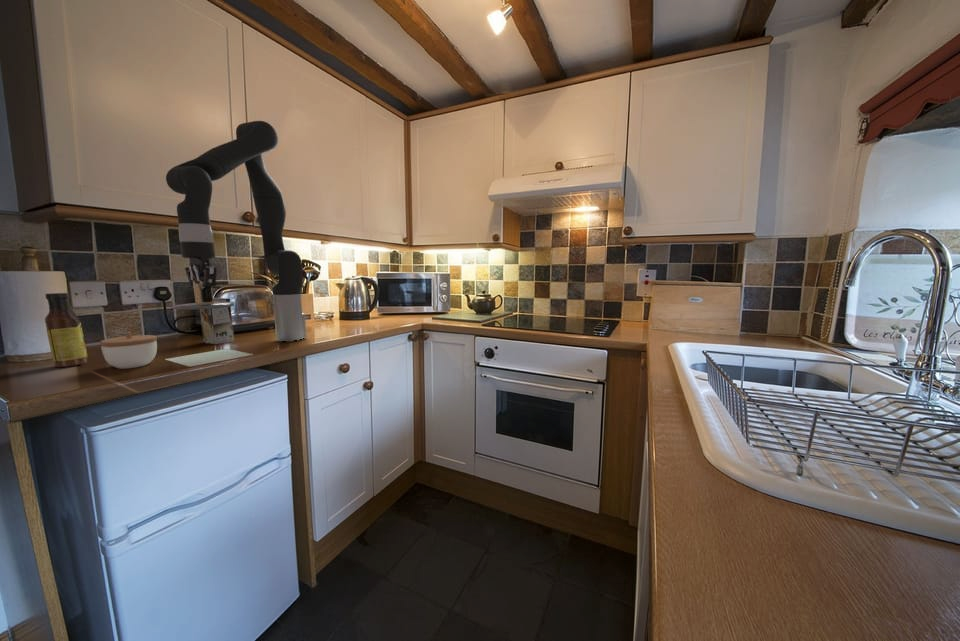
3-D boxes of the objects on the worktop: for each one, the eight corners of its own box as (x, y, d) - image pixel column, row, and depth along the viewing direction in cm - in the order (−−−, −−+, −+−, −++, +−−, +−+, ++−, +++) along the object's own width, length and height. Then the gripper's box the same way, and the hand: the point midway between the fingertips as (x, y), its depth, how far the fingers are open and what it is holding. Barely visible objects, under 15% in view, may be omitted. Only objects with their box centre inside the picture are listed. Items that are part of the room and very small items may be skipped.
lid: (220, 303, 111) (218, 282, 110) (243, 305, 104) (241, 282, 103) (164, 308, 99) (161, 284, 98) (186, 310, 92) (183, 285, 91)
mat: (226, 349, 114) (226, 348, 114) (253, 355, 107) (253, 354, 106) (164, 360, 101) (164, 359, 101) (189, 368, 93) (189, 366, 93)
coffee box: (235, 341, 128) (231, 298, 126) (215, 345, 122) (210, 299, 120) (221, 339, 132) (217, 297, 130) (202, 342, 127) (197, 298, 124)
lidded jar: (95, 369, 91) (89, 334, 90) (146, 360, 101) (142, 328, 100) (117, 374, 87) (112, 337, 86) (168, 363, 97) (164, 330, 96)
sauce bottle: (95, 362, 99) (84, 292, 96) (67, 368, 92) (54, 293, 90) (74, 361, 99) (63, 292, 97) (45, 367, 93) (32, 293, 90)
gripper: (224, 241, 99) (231, 301, 101) (201, 243, 105) (208, 299, 108) (192, 239, 92) (200, 304, 95) (169, 241, 99) (178, 301, 102)
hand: (204, 301), depth 101 cm, fingers closed on lid, 3 cm apart
